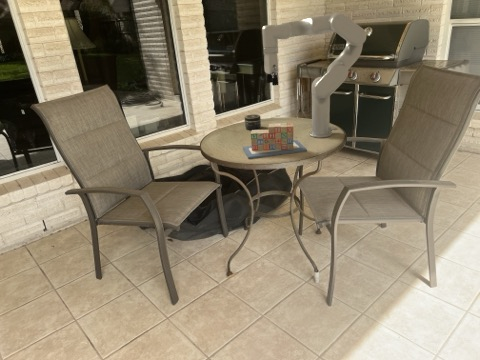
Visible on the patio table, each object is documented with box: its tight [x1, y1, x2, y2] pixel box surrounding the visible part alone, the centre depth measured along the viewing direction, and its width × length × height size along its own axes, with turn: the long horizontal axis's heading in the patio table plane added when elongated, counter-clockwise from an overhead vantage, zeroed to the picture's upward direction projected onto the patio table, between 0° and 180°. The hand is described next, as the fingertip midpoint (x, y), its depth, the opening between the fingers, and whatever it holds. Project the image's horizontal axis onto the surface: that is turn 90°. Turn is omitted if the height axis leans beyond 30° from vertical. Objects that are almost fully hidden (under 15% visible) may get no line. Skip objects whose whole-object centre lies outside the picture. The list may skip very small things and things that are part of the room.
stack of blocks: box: [250, 122, 294, 150], centre depth 188 cm, size 21×6×12 cm, turn 82°
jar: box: [244, 114, 262, 131], centre depth 229 cm, size 10×10×8 cm
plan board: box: [242, 139, 308, 160], centre depth 191 cm, size 30×16×1 cm, turn 100°
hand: (272, 83), depth 199 cm, fingers open, 9 cm apart
